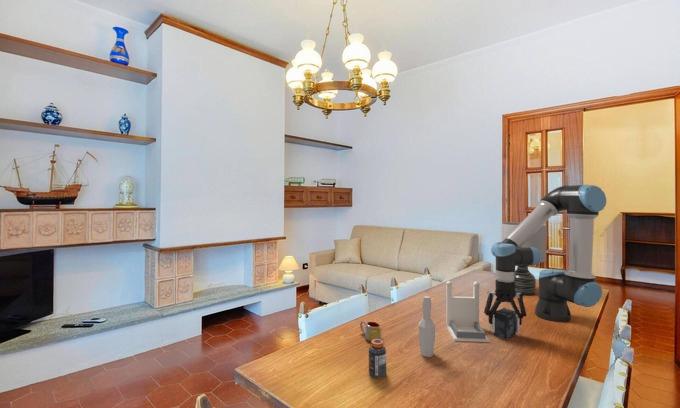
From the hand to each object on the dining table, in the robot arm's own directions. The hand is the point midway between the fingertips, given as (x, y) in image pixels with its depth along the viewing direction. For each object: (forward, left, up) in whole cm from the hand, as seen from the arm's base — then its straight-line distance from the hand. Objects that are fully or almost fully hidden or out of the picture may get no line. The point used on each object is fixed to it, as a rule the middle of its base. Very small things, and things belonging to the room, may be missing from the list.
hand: (504, 331), depth 141 cm
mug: (+58, +7, -2) cm, 58 cm away
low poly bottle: (+36, +20, -2) cm, 41 cm away
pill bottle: (+55, +36, -2) cm, 65 cm away
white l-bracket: (+16, 0, -2) cm, 16 cm away
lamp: (-35, -65, -2) cm, 74 cm away
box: (0, 0, -2) cm, 2 cm away
